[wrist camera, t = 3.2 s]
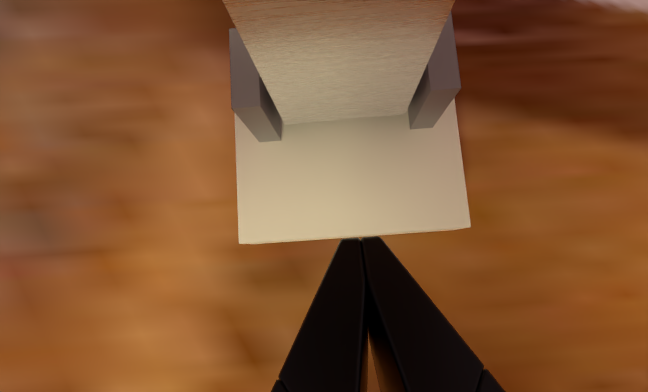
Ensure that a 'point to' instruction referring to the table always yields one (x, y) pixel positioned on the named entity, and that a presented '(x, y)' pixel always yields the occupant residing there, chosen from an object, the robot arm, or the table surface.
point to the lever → (339, 53)
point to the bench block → (349, 161)
